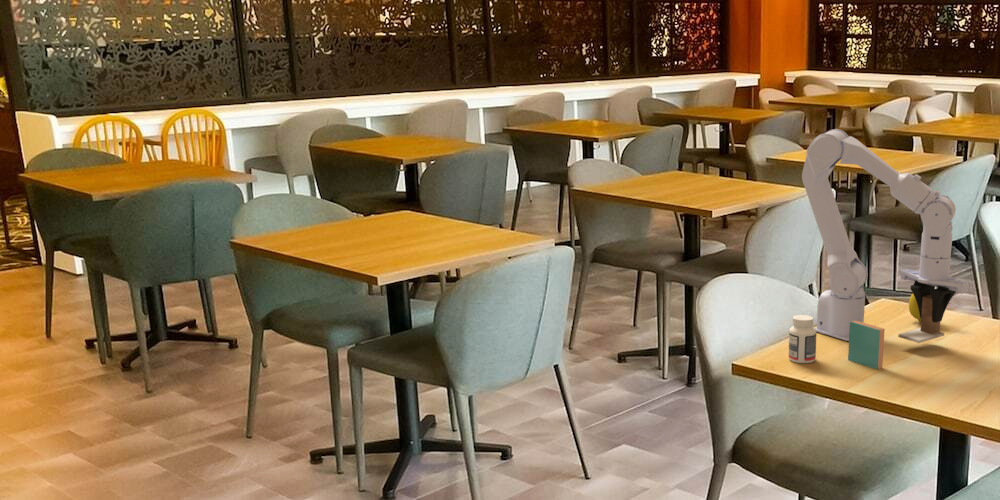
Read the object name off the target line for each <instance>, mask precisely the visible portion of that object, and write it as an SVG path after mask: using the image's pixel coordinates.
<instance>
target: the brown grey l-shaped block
mask: <svg viewBox="0 0 1000 500" xmlns="http://www.w3.org/2000/svg"><path fill="white" fill-rule="evenodd" d="M932 311H933V304H932V297H931V295H927V296H923V299H922V315H921V322H920V327H919V328H915V329H912V330H911V329H910V330H909V331H904V332H901V333H898V336H897V337H898V338H900V339H904V340H907V341H911V342H913V343H917V344H921V343H924V342H927V341H931V340H934V339H935V340H936V339H938V338H942V337H944V336H945V332H944V331H943V332H942V331H941V321H939V322H933V320H932Z"/></svg>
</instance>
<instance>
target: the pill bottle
mask: <svg viewBox="0 0 1000 500" xmlns="http://www.w3.org/2000/svg"><path fill="white" fill-rule="evenodd" d="M791 323H792V326H791V327H790V328H789V332H788V359H789V361H790V362H794V363H795V364H810V363H813V362H815V361H816V360H817V359H816V356H817V332H816V329H815V328H816V327H814V317H813V316H811V315H806V314H796V315H794V316H792V322H791Z"/></svg>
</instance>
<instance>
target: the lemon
mask: <svg viewBox="0 0 1000 500" xmlns="http://www.w3.org/2000/svg"><path fill="white" fill-rule="evenodd" d="M908 310H909V313H910V315H911V316H912V317H913V318H914V319H916V320H917V321H918V322H919V323H921V318H920V314H919V309H918V305H917V302H916V299H915V296H914V294H913V292H912V294H911V295H910V297H909V301H908Z"/></svg>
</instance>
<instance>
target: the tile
mask: <svg viewBox="0 0 1000 500" xmlns="http://www.w3.org/2000/svg"><path fill="white" fill-rule="evenodd" d="M884 345H885V328H883V327H879V326H876V325H873V324H869V323H866V322H864V323H863V322H859V321H856V320H855V321H851V322H850V331H849V341H848V356H847V361H850V362H853V363H856V364H859V365H862V366H866V367H869V368H872V369H875V370H879V369H883V366H884V365H883V362H884V347H885V346H884Z"/></svg>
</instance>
